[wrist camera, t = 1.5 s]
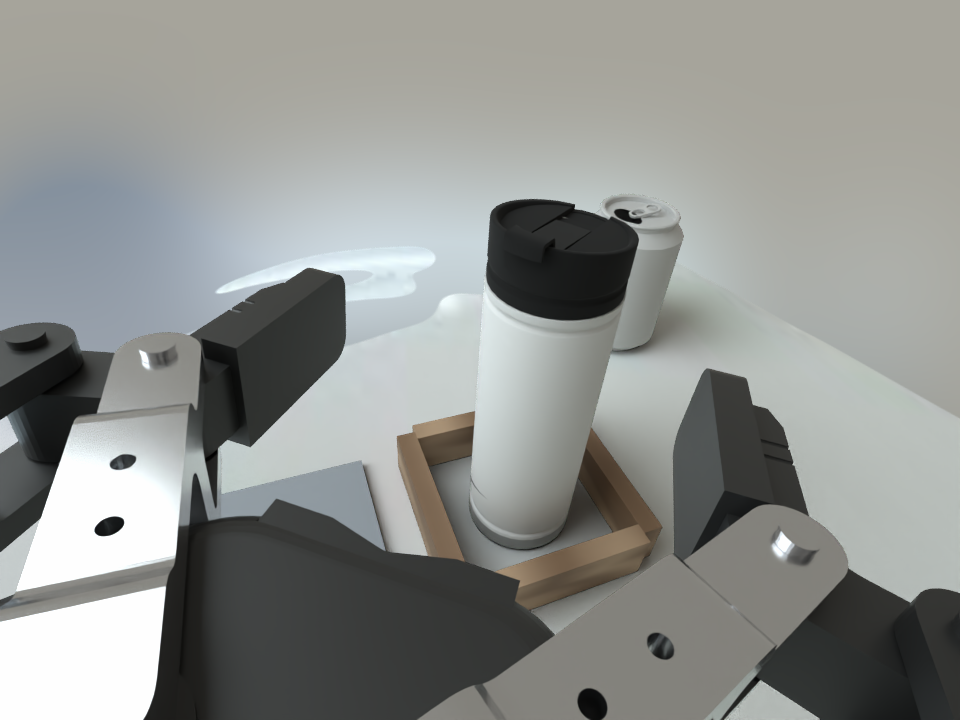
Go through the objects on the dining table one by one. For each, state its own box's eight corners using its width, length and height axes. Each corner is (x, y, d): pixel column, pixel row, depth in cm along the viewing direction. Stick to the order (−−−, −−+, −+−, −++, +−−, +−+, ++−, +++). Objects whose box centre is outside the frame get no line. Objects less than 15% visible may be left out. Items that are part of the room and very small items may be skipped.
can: (555, 314, 52) (576, 192, 44) (624, 303, 54) (655, 185, 46) (592, 362, 46) (623, 233, 39) (667, 349, 48) (710, 223, 41)
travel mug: (445, 518, 34) (452, 214, 21) (503, 453, 38) (539, 169, 25) (531, 575, 31) (600, 268, 18) (584, 499, 35) (668, 207, 23)
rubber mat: (361, 465, 37) (361, 460, 36) (413, 658, 27) (413, 654, 27) (144, 518, 33) (141, 513, 32) (119, 766, 23) (115, 762, 23)
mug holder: (558, 419, 41) (564, 390, 39) (654, 564, 32) (668, 535, 30) (396, 460, 37) (394, 429, 35) (455, 636, 28) (457, 609, 26)
